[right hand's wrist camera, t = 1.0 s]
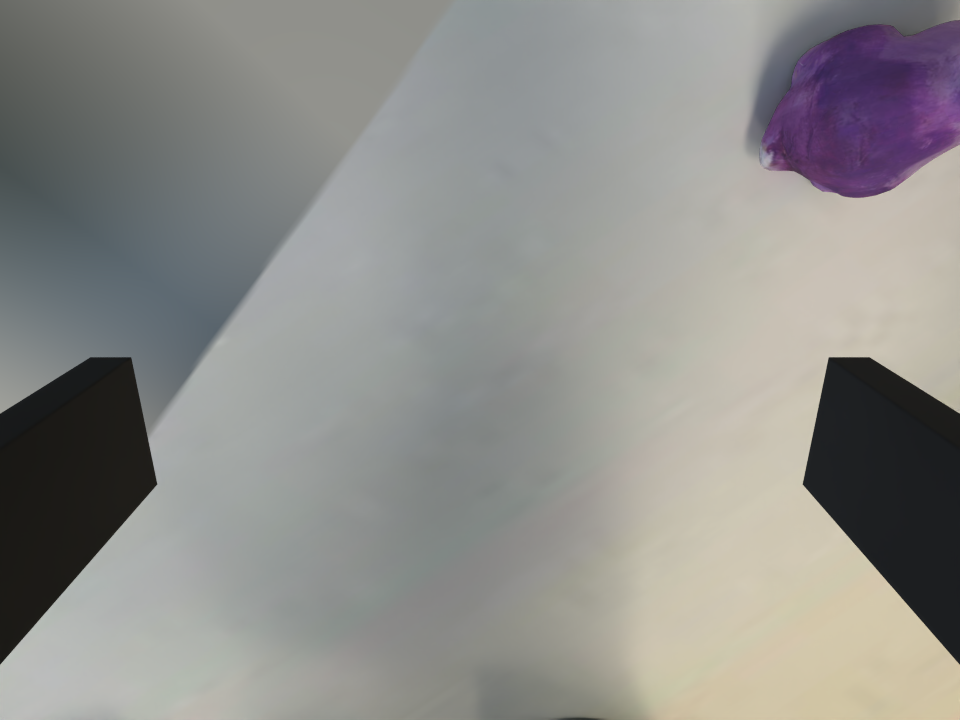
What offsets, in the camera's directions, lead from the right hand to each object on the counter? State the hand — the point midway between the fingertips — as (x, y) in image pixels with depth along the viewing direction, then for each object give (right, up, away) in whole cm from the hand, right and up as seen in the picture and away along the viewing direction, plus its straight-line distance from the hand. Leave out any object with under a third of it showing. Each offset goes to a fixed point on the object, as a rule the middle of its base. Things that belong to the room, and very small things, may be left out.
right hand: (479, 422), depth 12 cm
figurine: (+21, +16, +23) cm, 35 cm away
